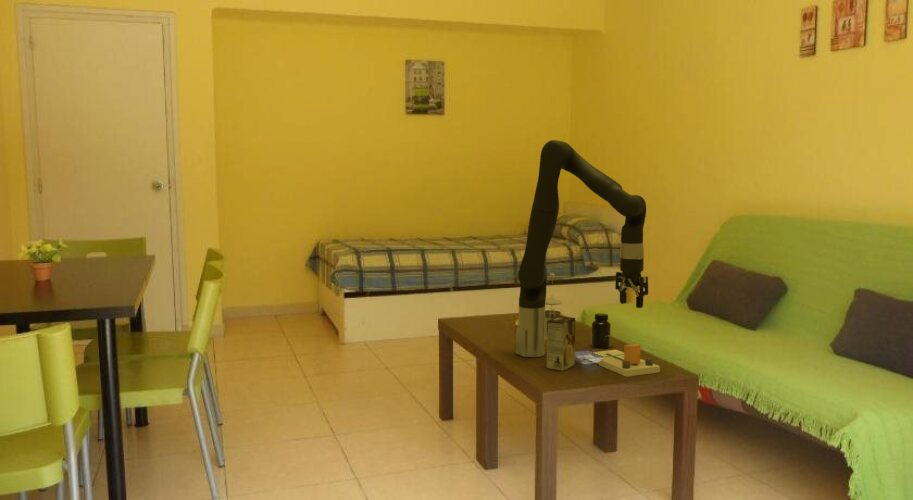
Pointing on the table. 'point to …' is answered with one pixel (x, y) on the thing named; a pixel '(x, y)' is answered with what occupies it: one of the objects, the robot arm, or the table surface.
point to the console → (626, 364)
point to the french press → (553, 313)
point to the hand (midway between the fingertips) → (631, 305)
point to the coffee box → (560, 343)
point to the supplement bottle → (600, 331)
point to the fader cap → (632, 353)
